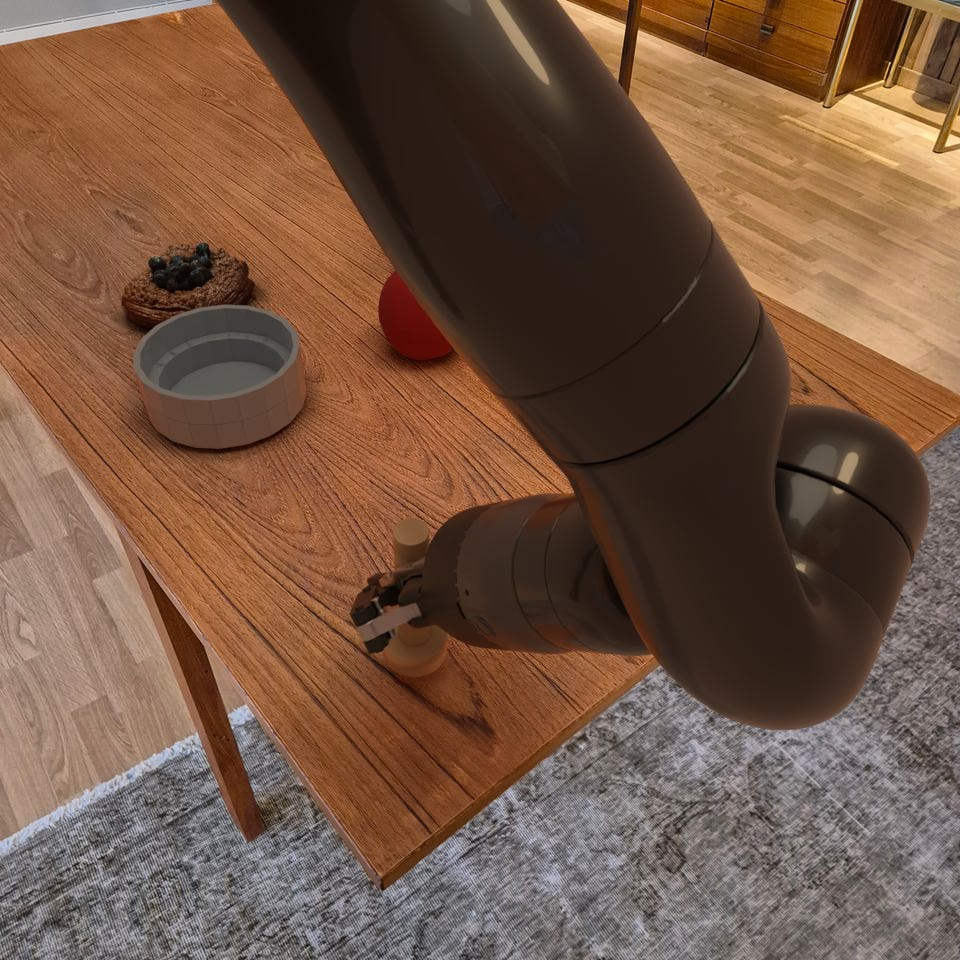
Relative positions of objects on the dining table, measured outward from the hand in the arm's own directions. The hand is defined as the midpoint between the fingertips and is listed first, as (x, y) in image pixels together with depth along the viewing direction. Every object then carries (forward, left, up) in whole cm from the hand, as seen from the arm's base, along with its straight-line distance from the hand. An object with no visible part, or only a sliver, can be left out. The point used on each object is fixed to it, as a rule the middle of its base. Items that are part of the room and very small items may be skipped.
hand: (394, 581), depth 59 cm
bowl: (0, +32, -7) cm, 33 cm away
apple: (+20, +30, -7) cm, 37 cm away
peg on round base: (0, -2, -5) cm, 6 cm away
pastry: (+3, +49, -7) cm, 50 cm away
